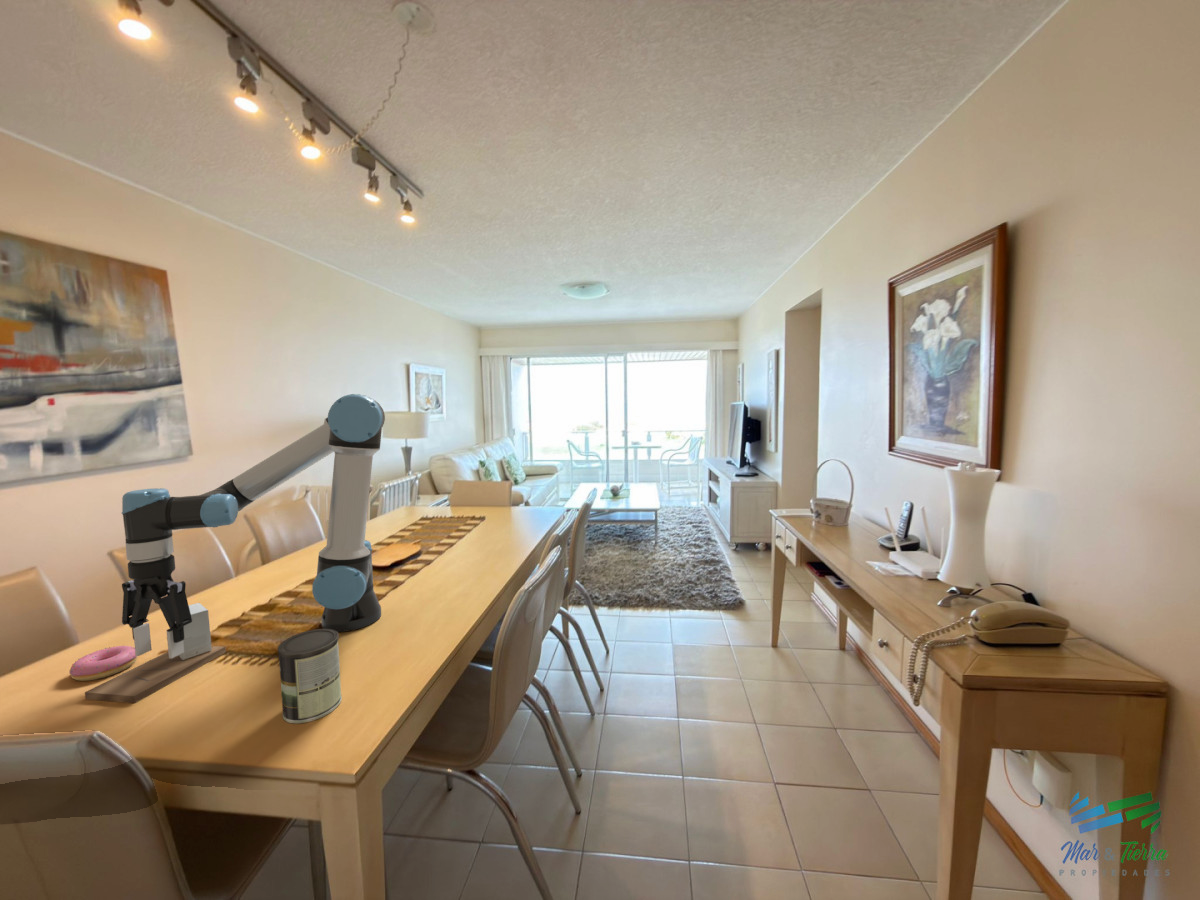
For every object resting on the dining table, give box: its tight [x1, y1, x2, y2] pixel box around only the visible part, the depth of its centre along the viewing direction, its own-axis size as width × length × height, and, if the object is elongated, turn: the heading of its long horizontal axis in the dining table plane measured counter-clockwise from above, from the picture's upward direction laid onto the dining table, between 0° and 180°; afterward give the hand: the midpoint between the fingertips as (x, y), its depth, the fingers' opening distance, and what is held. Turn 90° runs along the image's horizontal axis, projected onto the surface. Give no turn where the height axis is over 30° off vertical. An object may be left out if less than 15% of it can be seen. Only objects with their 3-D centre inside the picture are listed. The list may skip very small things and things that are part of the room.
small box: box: [175, 602, 212, 660], centre depth 110 cm, size 8×6×10 cm
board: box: [84, 645, 227, 704], centre depth 104 cm, size 12×20×2 cm, turn 173°
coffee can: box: [277, 628, 343, 725], centre depth 91 cm, size 10×10×14 cm
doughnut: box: [69, 645, 138, 682], centre depth 106 cm, size 11×11×4 cm
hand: (160, 653), depth 103 cm, fingers open, 8 cm apart
